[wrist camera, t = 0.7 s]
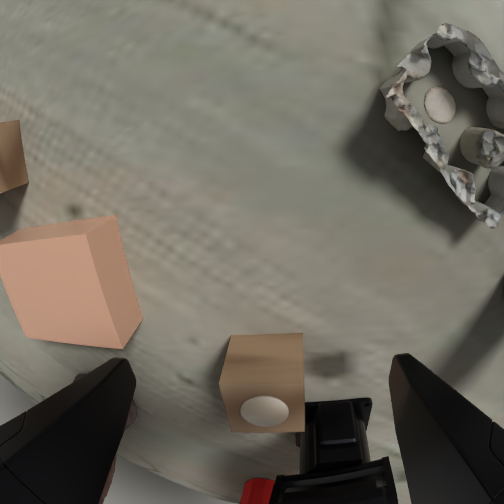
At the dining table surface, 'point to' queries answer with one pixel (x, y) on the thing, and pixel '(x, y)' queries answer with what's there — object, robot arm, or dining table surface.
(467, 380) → the dining table surface
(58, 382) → the dining table surface
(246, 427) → the tagged walnut block
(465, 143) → the egg carton
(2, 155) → the tagged walnut block
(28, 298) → the terracotta slab
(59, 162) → the dining table surface
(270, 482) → the french fries
